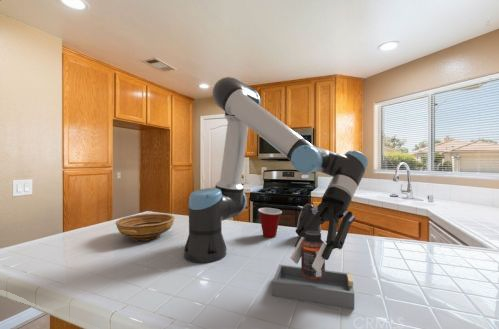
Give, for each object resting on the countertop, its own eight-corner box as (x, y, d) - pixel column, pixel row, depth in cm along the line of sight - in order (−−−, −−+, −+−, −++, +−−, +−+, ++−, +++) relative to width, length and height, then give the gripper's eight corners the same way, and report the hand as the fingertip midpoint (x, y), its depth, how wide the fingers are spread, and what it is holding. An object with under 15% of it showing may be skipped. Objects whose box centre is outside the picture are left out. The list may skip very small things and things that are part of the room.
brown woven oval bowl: (153, 250, 91) (153, 229, 91) (96, 246, 94) (96, 226, 94) (185, 228, 120) (185, 213, 120) (141, 226, 124) (141, 211, 124)
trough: (272, 295, 60) (272, 276, 60) (279, 276, 70) (279, 260, 70) (354, 308, 54) (354, 288, 54) (349, 286, 64) (349, 268, 64)
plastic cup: (275, 241, 101) (275, 213, 101) (253, 237, 106) (253, 210, 106) (285, 234, 110) (285, 209, 110) (265, 231, 116) (265, 206, 115)
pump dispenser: (294, 235, 110) (294, 202, 110) (316, 234, 111) (316, 201, 111) (300, 242, 100) (300, 206, 99) (324, 241, 100) (324, 205, 100)
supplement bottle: (326, 282, 58) (326, 236, 58) (301, 280, 60) (301, 235, 60) (323, 271, 64) (323, 229, 64) (301, 269, 66) (301, 228, 65)
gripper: (376, 206, 64) (345, 287, 54) (317, 198, 79) (283, 260, 69) (367, 188, 61) (332, 270, 51) (307, 183, 76) (270, 246, 65)
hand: (304, 264), depth 60 cm, fingers closed on supplement bottle, 6 cm apart
